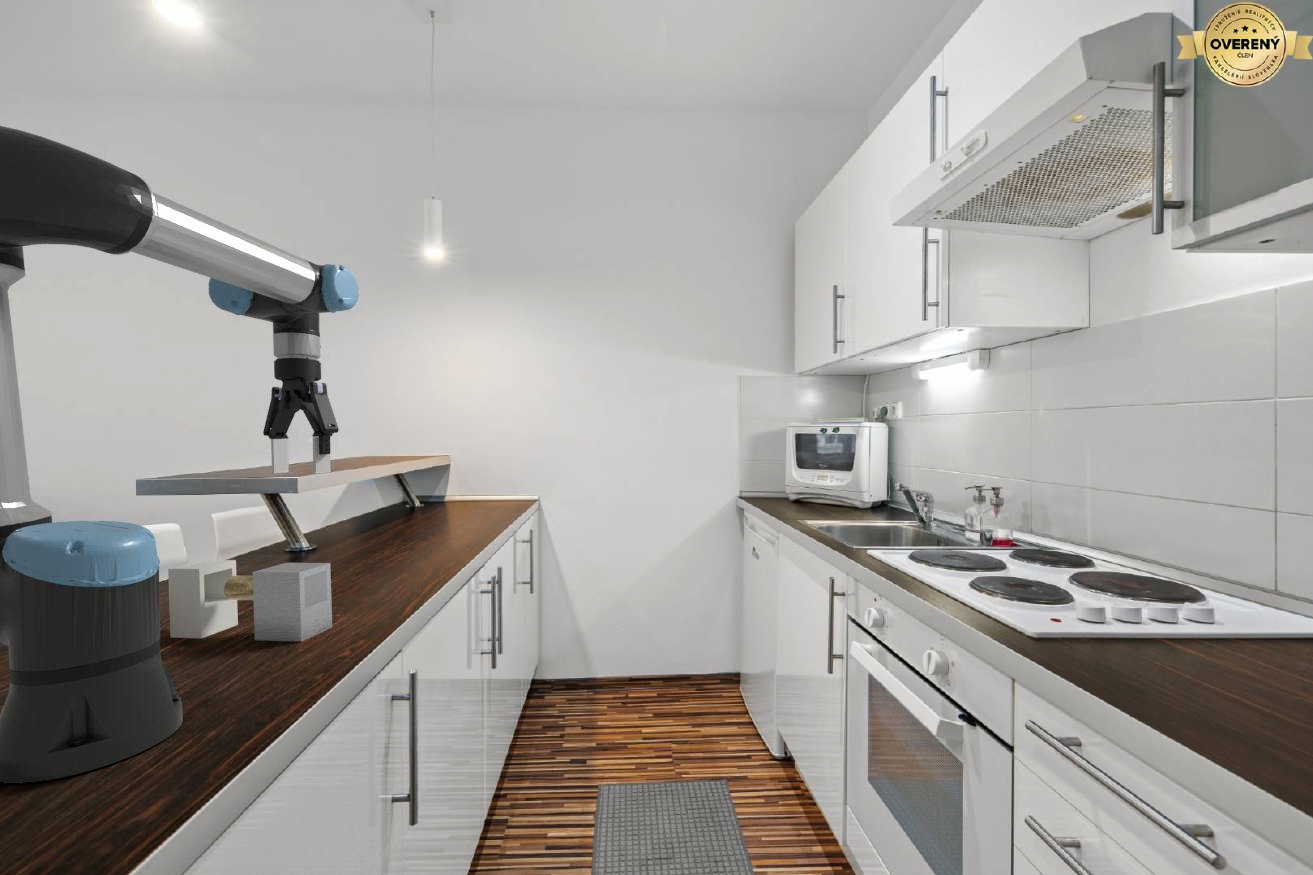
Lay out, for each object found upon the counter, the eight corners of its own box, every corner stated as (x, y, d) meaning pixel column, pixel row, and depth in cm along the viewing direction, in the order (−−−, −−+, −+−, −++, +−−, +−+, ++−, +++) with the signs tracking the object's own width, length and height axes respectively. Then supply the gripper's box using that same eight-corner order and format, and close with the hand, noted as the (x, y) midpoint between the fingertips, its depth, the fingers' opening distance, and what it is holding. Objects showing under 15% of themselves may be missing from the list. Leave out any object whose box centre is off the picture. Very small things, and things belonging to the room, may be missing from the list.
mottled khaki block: (317, 597, 101) (316, 573, 101) (299, 604, 97) (298, 579, 97) (244, 596, 103) (243, 572, 103) (224, 602, 99) (223, 578, 99)
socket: (238, 624, 105) (235, 560, 105) (201, 638, 98) (199, 569, 98) (208, 623, 106) (206, 559, 106) (170, 637, 99) (168, 568, 99)
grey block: (332, 627, 102) (330, 562, 102) (301, 641, 95) (299, 572, 95) (288, 626, 103) (286, 562, 103) (254, 640, 97) (252, 572, 97)
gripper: (357, 355, 109) (360, 471, 109) (281, 366, 121) (284, 471, 121) (316, 350, 102) (320, 474, 102) (240, 363, 115) (243, 473, 114)
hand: (300, 473), depth 112 cm, fingers open, 13 cm apart
